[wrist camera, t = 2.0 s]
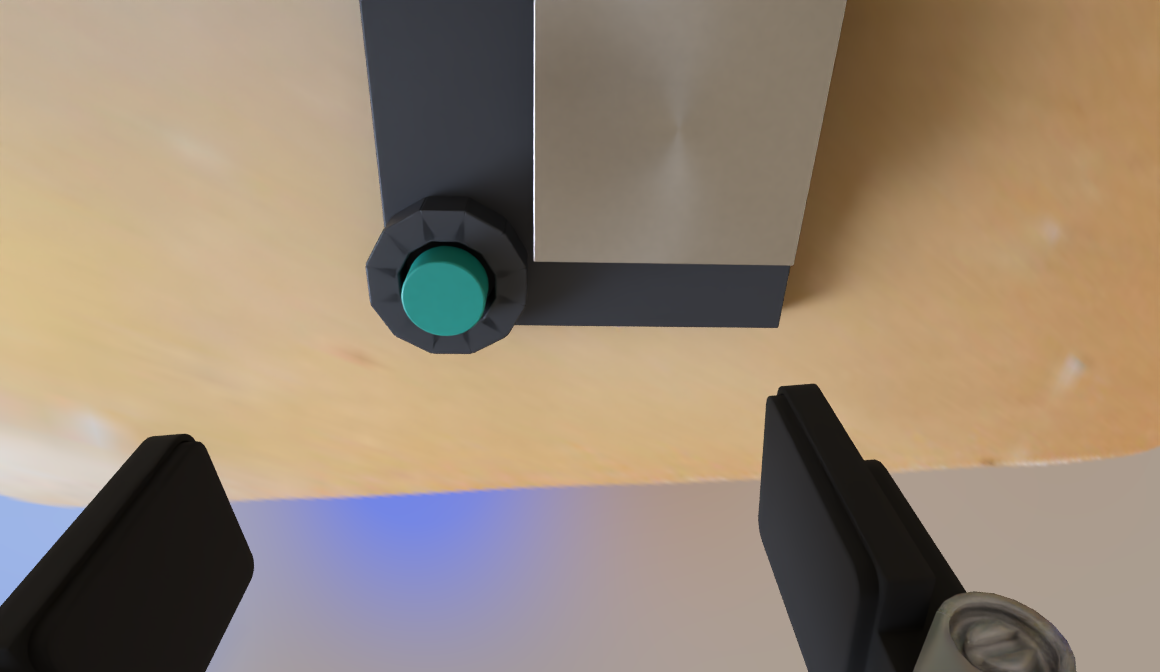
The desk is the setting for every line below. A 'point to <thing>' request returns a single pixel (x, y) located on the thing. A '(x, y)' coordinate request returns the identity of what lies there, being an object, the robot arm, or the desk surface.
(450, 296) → the button
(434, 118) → the scale
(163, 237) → the desk surface
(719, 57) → the grey flat square plate
